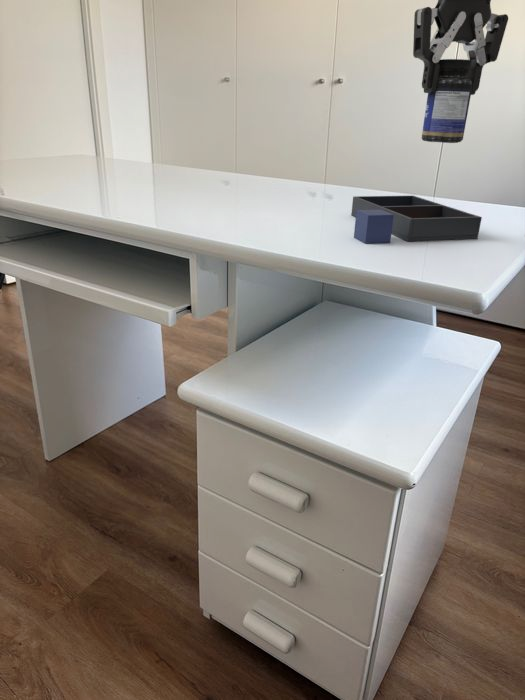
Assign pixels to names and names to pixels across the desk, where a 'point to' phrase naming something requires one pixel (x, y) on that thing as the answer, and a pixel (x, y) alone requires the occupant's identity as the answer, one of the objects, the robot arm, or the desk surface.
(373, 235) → the navy block
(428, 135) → the pill bottle
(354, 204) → the sorting tray
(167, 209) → the desk surface
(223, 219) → the desk surface
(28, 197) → the desk surface
